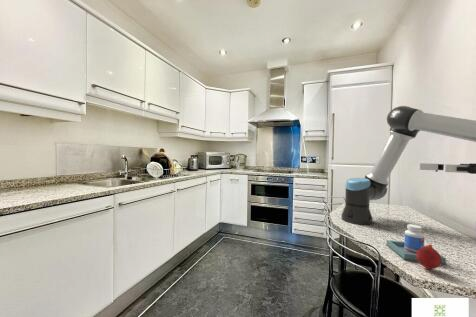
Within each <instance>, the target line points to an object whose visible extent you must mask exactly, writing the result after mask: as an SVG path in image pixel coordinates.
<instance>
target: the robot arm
mask: <svg viewBox="0 0 476 317" xmlns="http://www.w3.org/2000/svg"><path fill="white" fill-rule="evenodd" d="M386 123H387V125H388V126H389V127H390V128H389V133H390V135H389V136H388V139H387V141H386V142H385V144H384V145H383V148H382V149H381V152H380V154H379V156H378V158H377V160H376V162H375V163H374V165H373V166H372V169H371V171H370V172H369V173H366V174H365V175H364V177H352V178H348V179H346V182H345V201H344V202H345V203H344V204H345V205H344V207H343V210H342V212H341V215H340V216H341V220H343V221H345V222H347V223H351V224H354V225H355V224H356V225H365V226H366V225H367V226H370V225H372V224H373V223H374V222H373V220H374V218H373V216H372V213H371V209H370V201H376V200H380V199H382V198H384V197H385V196H386V195H387V192H388V185H389V180H388V178H389V177H390V175H391V173H392V172H393V169H394V168H395V166H396V164H397V163H398V161H399V159H400V157H401V155H402V154H403V152H404V150H405V149H406V147H407V145H408V144H409V142H410V140H413V139H416V136H417V135H418V133H419V132H420V131H422V132H427V133H430V134H435V135H436V134H437V135H441V136H445V137H450V138H454V139H459V140H465V141H469V142H474V143H476V120H473V119H469V118H468V119H467V118H462V117H455V116H454V117H453V116H448V115H443V114H442V115H441V114H434V113H430V112H429V113H428V112H424V111H423V110H422V109H418V108H414V107H411V106H407V105H400V106H397V107H394V108H392V109H391V110H390V111H389V112H388V114H387V116H386ZM419 170H420V171H434V172H436V173H437V172H439V171H443V173H456V174H457V173H458V174H459V173H460V174H461V173H463V174H470V175H471V174H472V175H476V163H472V162H471V163H460V164H446V163H445V164H444V163H443V164H442V163H426V162H425V163H424V162H423V163H421V162H419V163H418V171H419Z"/></svg>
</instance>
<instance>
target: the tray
mask: <svg viewBox="0 0 476 317" xmlns="http://www.w3.org/2000/svg"><path fill="white" fill-rule="evenodd" d="M404 245H405V241H400V240H399V241H398V240H389V239H386V246H387V247H388V248H389V249H390V250H391V251H393V252H394V253H395V254H396V255H398V257H400V258H401V259H402V260H404V261H411V262H417V263H418V262H419V261H418V259H417V256H416V254H411V253H407V252H406V251H405V250H404ZM425 246H426V245H425V244H424V247H425ZM440 256H441V258H442V262H441V265H444V266H445V265H446V263H447V262H446V261H447V258H446V257H445V256H443V255H441V254H440Z"/></svg>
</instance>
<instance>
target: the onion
mask: <svg viewBox="0 0 476 317" xmlns="http://www.w3.org/2000/svg"><path fill="white" fill-rule="evenodd" d="M440 255H441V254H440V253H439V252H438V251H437V250H436V249H435V248H434V247H433V245H432V244H431V243H428V244H427V245H425V247H422V248H420V249H419V250H418V251H417V253H416V256H417V259H418V261H419V264H420V265H421V266H423V267H424V268H425V269H427V270H428V271H431V270H433V269H436V268H439V267H440V266H441V265H442V264H441V262H442V258H441V256H442V255H441V256H440ZM418 261H417V262H418Z"/></svg>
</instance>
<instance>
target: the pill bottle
mask: <svg viewBox="0 0 476 317" xmlns="http://www.w3.org/2000/svg"><path fill="white" fill-rule="evenodd" d="M406 226H407V227H406V228H407V229H406V230H405V231H404V242H405V245H404V250H405V251H406V252H407V253H411V254H416V253H417V251H418V250H419V249H420V248H422V247H424V245H425V235H424V233H422V232H423V227H422V226H420V225H417V224H411V223H410V224H407V225H406Z"/></svg>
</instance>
